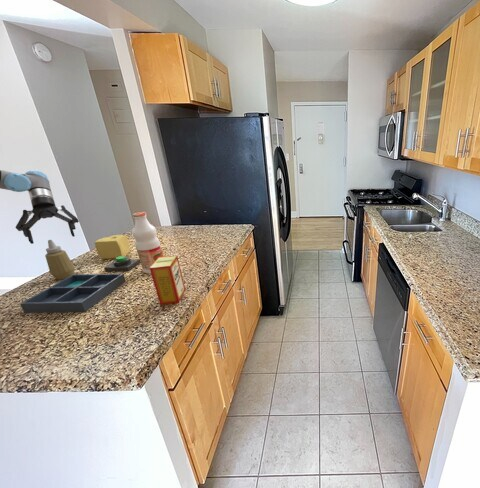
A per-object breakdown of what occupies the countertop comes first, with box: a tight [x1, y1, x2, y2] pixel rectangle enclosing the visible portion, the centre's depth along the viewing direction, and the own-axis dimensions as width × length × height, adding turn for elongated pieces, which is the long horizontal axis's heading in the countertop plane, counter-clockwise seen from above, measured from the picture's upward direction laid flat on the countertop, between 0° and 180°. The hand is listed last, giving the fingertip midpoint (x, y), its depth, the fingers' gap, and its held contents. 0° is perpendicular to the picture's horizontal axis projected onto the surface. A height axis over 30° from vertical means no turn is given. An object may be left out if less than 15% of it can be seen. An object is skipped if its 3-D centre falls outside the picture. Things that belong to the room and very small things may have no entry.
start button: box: [115, 255, 126, 262], centre depth 125 cm, size 4×4×2 cm
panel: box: [103, 256, 141, 273], centre depth 126 cm, size 11×9×4 cm
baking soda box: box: [150, 255, 186, 306], centre depth 100 cm, size 10×6×16 cm
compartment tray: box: [19, 273, 127, 314], centre depth 103 cm, size 22×22×4 cm
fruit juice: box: [131, 211, 165, 275], centre depth 119 cm, size 9×9×28 cm
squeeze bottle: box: [44, 239, 75, 281], centre depth 115 cm, size 8×8×18 cm
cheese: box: [94, 234, 132, 260], centre depth 139 cm, size 10×11×10 cm
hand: (52, 238), depth 118 cm, fingers open, 13 cm apart
